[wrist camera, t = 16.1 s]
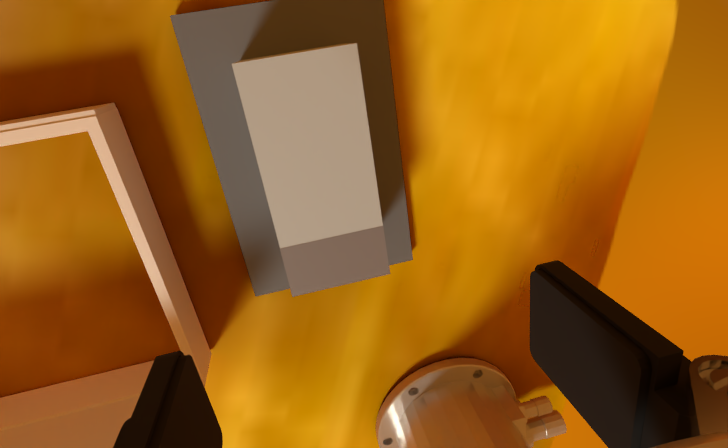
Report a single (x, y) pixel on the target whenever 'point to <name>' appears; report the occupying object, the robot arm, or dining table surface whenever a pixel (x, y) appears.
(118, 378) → the carton
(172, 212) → the dining table surface
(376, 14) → the slate mat
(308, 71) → the box
